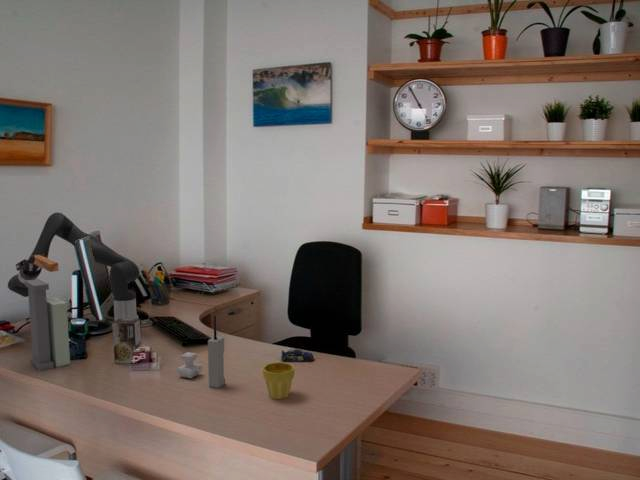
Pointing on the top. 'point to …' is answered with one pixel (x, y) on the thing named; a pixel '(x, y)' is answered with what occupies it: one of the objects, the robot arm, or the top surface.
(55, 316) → the pale green tall block
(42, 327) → the tall stand
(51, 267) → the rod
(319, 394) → the top surface
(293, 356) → the race car
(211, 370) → the vintage mobile phone
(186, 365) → the stamp
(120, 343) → the coffee box
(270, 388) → the plant pot
